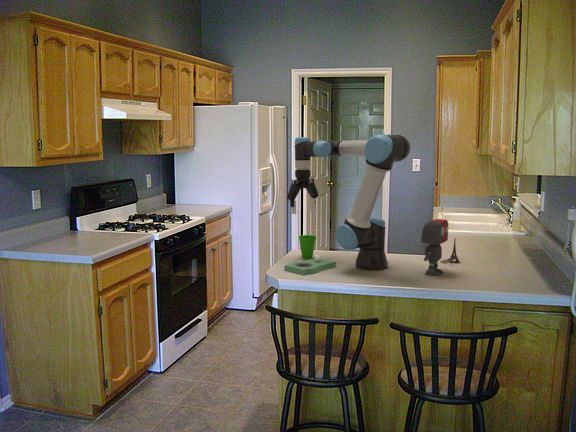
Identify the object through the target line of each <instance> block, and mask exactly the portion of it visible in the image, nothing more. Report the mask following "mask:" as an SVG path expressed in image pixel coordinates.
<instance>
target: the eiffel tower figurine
mask: <svg viewBox="0 0 576 432" xmlns="http://www.w3.org/2000/svg"><path fill="white" fill-rule="evenodd" d="M453 239H454V241H453V248H452V252H451V255H450V257H449V258H447V259H444V260H439V262H440V264H444V265H446V264H448V263H449V264H451V266H453V267H454V265H453V264H461V262H460V259H459V256H458V255H457V252H456V251H457V249H456V241H457V238H453Z"/></svg>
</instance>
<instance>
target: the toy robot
mask: <svg viewBox="0 0 576 432" xmlns="http://www.w3.org/2000/svg"><path fill="white" fill-rule="evenodd" d="M443 209H444V207H441V210H443ZM431 212H434V209H431ZM442 212H443V211H441V212H440V213H441V216H442V217H441V218H436V219H434V218H433V216H434V215H432V216H431V218H433V219H432V220H429V221H428V222H426V223H425V224H424V226H423V228H422V231H421V239H420V242H421V243H422V244H428V245H427V246H426V247H425V249H424V254H425V257H424V258H423V261H424V262H427V261H428V264H429V265H428V269H427V270H426V271H425V273H424V275H426V276H434V277H439V276H440V277H441V276H442V275H444V271H443V270H442V269H440V268H438V267H439V263H438V261H439V262H440V261H441V259H442V257H443V256H442V254H443V253H442V251H443V248H442V244H444V243H446V242H448V240H449V238H448V237H449V222H448V220H447V219H443V217H444V215H443V214H442Z"/></svg>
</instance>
